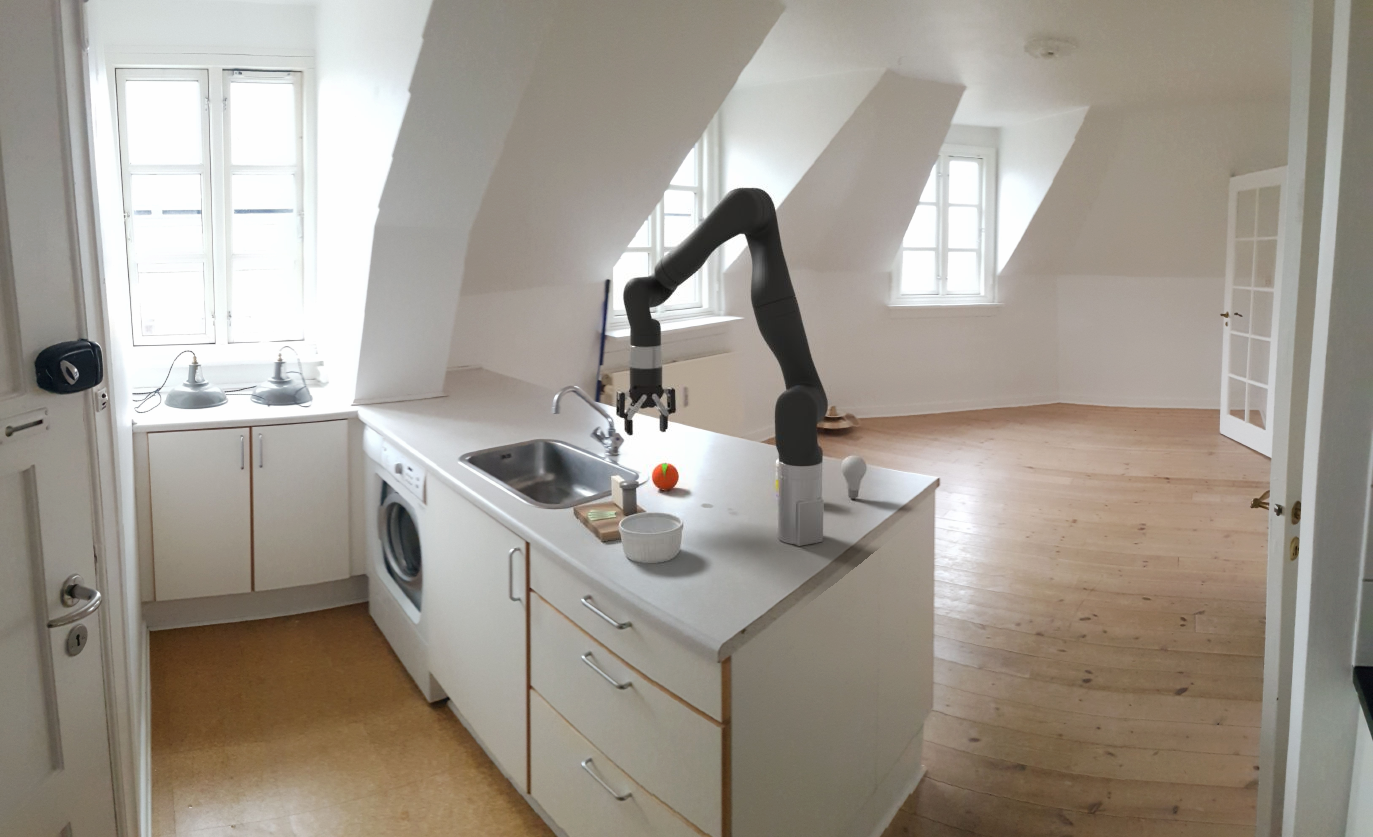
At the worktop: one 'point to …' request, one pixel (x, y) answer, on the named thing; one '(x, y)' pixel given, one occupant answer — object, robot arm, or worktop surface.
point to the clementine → (665, 476)
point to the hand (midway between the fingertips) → (646, 433)
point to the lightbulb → (853, 474)
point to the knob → (625, 494)
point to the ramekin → (651, 536)
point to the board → (603, 519)
